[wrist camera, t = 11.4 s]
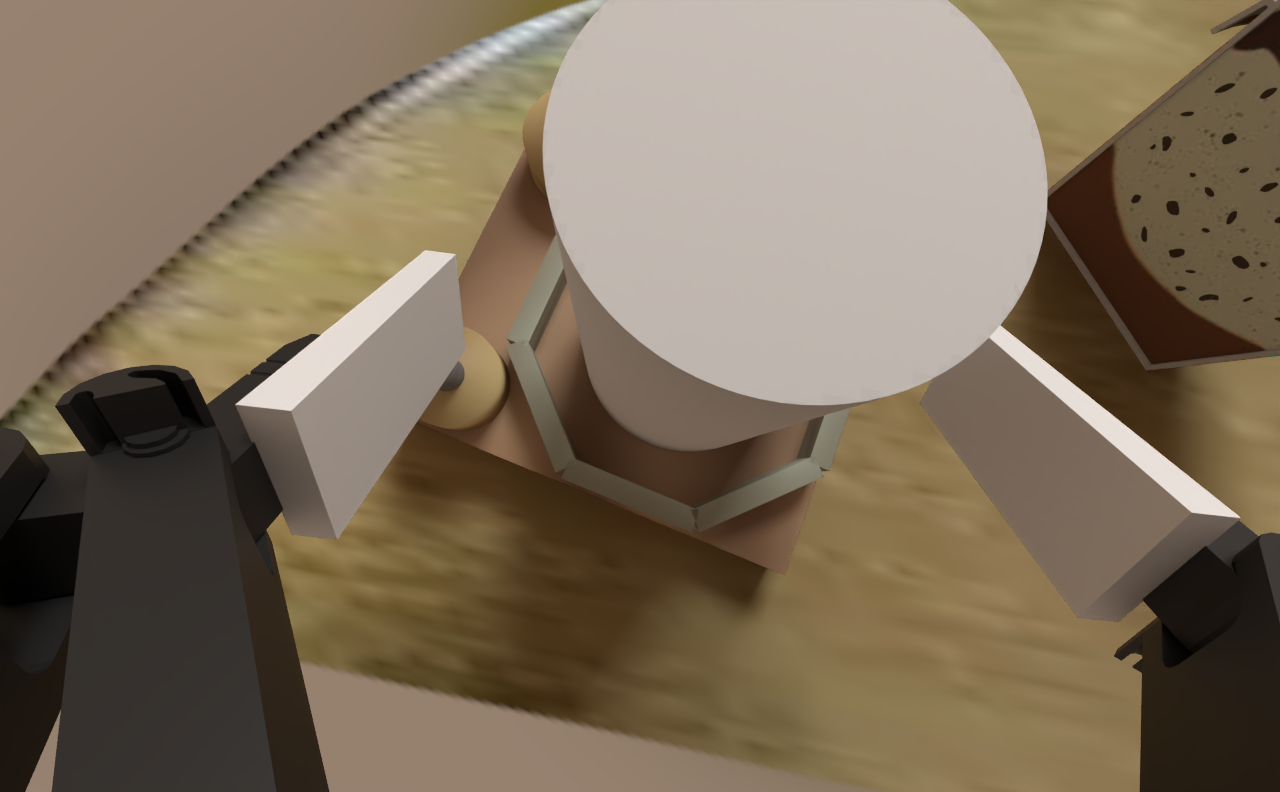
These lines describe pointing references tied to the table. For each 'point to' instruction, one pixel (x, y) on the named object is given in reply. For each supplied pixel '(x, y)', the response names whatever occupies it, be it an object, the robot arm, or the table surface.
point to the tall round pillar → (785, 206)
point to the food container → (1189, 209)
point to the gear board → (571, 412)
